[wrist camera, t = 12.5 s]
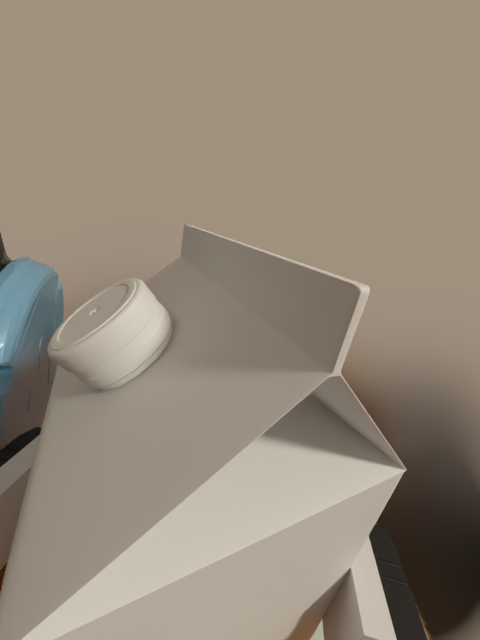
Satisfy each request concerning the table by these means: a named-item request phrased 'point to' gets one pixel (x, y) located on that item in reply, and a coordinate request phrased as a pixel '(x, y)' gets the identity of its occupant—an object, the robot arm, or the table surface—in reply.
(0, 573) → the table surface
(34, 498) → the milk carton
